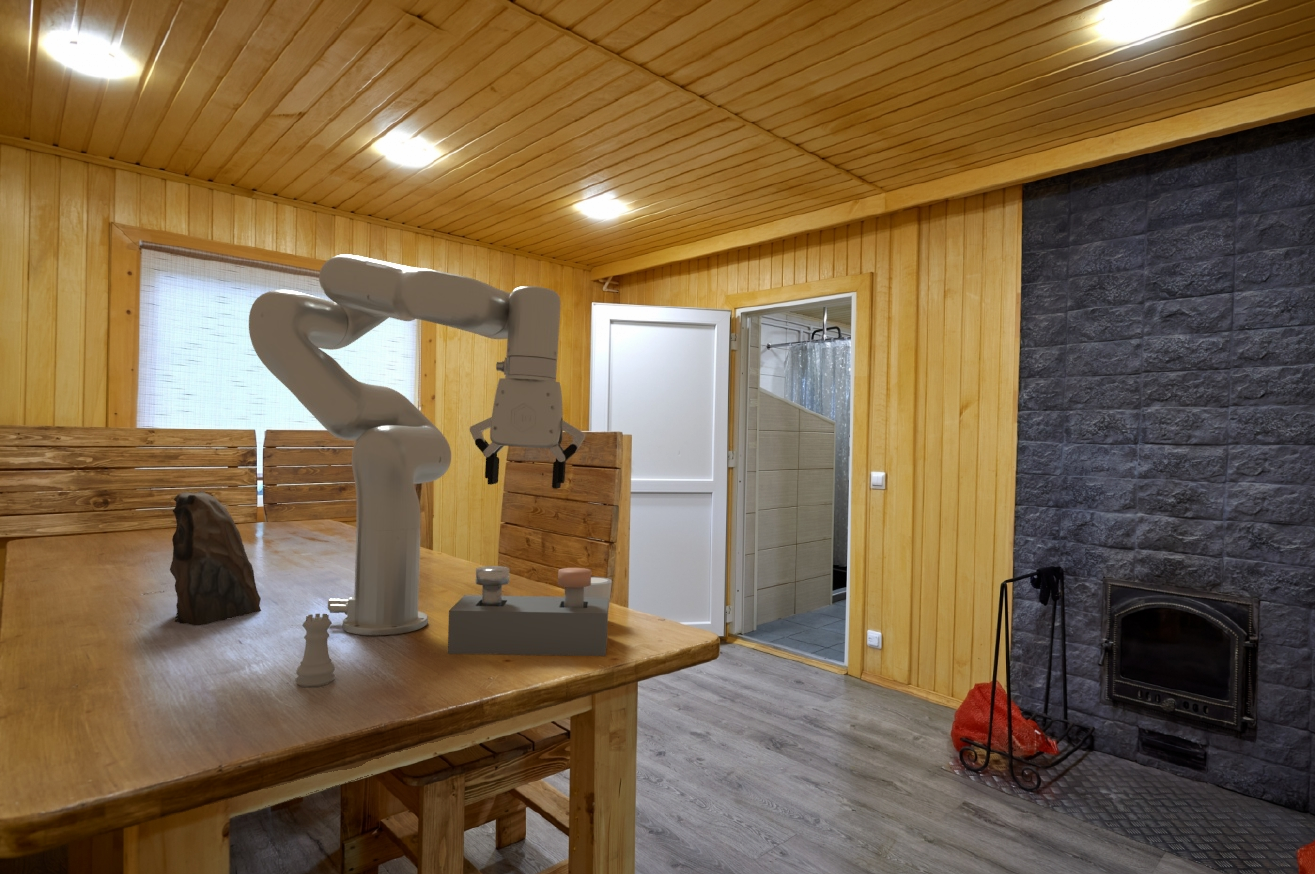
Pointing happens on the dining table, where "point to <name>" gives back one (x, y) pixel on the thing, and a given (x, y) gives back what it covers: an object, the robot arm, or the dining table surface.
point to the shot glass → (599, 588)
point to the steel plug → (492, 583)
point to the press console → (528, 626)
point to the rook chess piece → (316, 654)
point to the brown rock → (210, 563)
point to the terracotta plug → (574, 585)
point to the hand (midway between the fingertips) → (524, 485)
